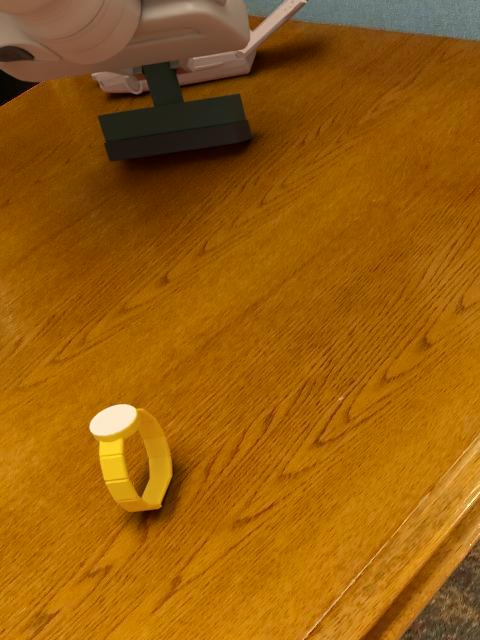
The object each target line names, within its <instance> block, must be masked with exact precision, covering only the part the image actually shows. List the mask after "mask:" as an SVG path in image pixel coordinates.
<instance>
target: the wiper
mask: <svg viewBox="0 0 480 640" xmlns="http://www.w3.org/2000/svg"><path fill="white" fill-rule="evenodd" d="M142 67H143V70H144V74H145V77H146V81H147V84H148V88H149V91H148V92H149V94H150V98H151V101H152V105H153V106H149V107H143V108H142V107H141V108H133V109H129V110H122V111H116V112H115V111H114V112H109V113H104V114H100V115H97V119H98V123H99V126H100V129H101V133H102V136H103V139H104V142H103V145H104V149H105V152H106V155H107V159H108V161H109V162H110V163H112V162H119V161H124V160H125V161H126V160H132V159H138V158H140V159H141V158H146V157H153V156H159V155H166V154H167V155H168V154H173V153H180V152H186V151H192V150H200V149H207V148H213V147H221V146H226V145H233V144H239V143H243V142H245V141H249V140H251V139H253V135H252V131H251V126H250V121H249V119H247V116H246V112H245V108H244V105H243V101H242V100H243V99H242V96H241V94H240V93H232V94H227V95H219V96H213V97H207V98H206V97H205V98H199V99H193V100H187V101H185V100H184V96H183V92H182V89H181V85H179V81H178V78H177V74H176V72H175V71H173V70H172V69H170V63H169V62H162V63H156V64H150V65H143V66H142Z"/></svg>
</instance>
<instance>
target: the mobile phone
mask: <svg viewBox="0 0 480 640" xmlns="http://www.w3.org/2000/svg"><path fill="white" fill-rule="evenodd" d="M308 2H309V0H284V1H283V2H281V4H279V6H277V8H275V10H273V11H272V12H271V13H270V14H269V15H268V16H267V17H266V18H265V19H264V20H263V21H262V22H261V23H260V24H259V25H258V26H256V28H254V30H252V29H250V41H249V43H248V45H247V46H246V47H245V48H244V49H242V50H238V51H231V52H225V53H219V54H213V55H206V56H200V57H194V58H193V60H194V68H195V70H194V72H192V73H184V74H177V73H176V74H177V78H178V81H179V85H180V86H187V85H192V84H199V83H203V82H209V81H214V80H220V79H225V78H231V77H236V76H237V77H238V76H242V75H248V74H249V73H251V69H252V66H253V64H254V61H255V57H256V55H257V49H258V48H259V47H260V46H261V45H262V44H263V43H265V42H266V40H268V39H269V38H270V37H271V36H272V35H273V34H274V33H276V32H277V31H278V30H279V29H280V28H281V27H283V26H284V25H285V24H286V23H287V22H288V21H289V20H290V19H291V18H293V17H294V16H295V15H296V14H297V13H299V11H301V9H303V7H305V6H306V4H307V3H308ZM91 78H92V80H93V81H97V82H98V84H99V87H100V89H101V90H102V92H104V93H110V94H134V95H141V94H142V93H144V92H150V91H149V88H148V84H147V81H146V80H141V81H134V80H133V79H131V78H130V77H128V76H127V75H120V74H115V73H110V72H99V73H93V74H91Z"/></svg>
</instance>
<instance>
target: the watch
mask: <svg viewBox="0 0 480 640" xmlns="http://www.w3.org/2000/svg"><path fill="white" fill-rule="evenodd" d="M89 431H90V433H91V435H92V436H93V438H94V440H95V441H97V442H98V443H99V444H98V457H99V464H100V469H101V473H102V477H103V481H104V483H105V486H106V489H108V491H109V493H110V496H111V497H112V499H113V500H114V501H115V503H116V504H118V505H119V506H120V507H121V508H123V509H124V511H125V512H129V513H134V512H144V511H154V510H159V509H160V508H162V506H163V505H162V502H163V500H164V499H165V495H166V493H167V490H168V488H169V486H170V483H171V480H172V478H173V460H172V456H171V455H172V453H171V450H170V446H169V443H168V439H167V436H166V434H165V431H164V430H163V428H162V426H161V425H160V423H159V421H158V420H157V418H156V417H155V416H154V415H153V414H151V413H150V412H149V411H147V410H145V409H144V408H142V407H139V408H136V407H134V406H133V405H131V404H126V403H124V404H123V403H122V404H115V405H111V406H109V407H107V408H104V409H102V410H101V411H99V412H98V413H97V414H96V415H95V416H94V417H93V418H91V421H90V423H89ZM137 432H138V433H139V435H140V436H141V438H142V441H143V445H144V447H145V451H146V454H147V457H148V472H149V473H148V475H149V478H148V482H147V484H146V486H145V489H144V491H143V493H142V495H141V496H139V494H138V492H137V491H136V488H135V487H134V484H133V483H132V481H131V479H130V476H129V471H128V467H127V461H126V457H125V440H127V439H129V438H130V437H132V436H133V435H134V434H135V433H137Z"/></svg>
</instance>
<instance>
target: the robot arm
mask: <svg viewBox="0 0 480 640" xmlns="http://www.w3.org/2000/svg"><path fill="white" fill-rule="evenodd" d="M248 13H249V12H248V9H247V5H246V3H245V1H244V0H0V70H1V71H2V72H4V73H6V74H7V75H9V76H11V77H13V78H15V79H17V80H18V81H19V80H20V81H23V82H30V83H44V82H49V81H54V80H61V79H67V78H74V77H81V76H85V75H92V74H93V73H99V72H110V73H115V74H120V75H127V76H128V77H130V78H131V79H133V80H134V81H141V80H146V77H145V74H144V70H143V67H142V66H143V65H150V64H156V63H162V62H169V63H170V69H172V70H173V71H175V72H176V73H177V74H184V73H192V72H194V70H195V68H194V60H193V58H194V57H200V56H206V55H213V54H219V53H225V52H231V51H238V50H242V49H244V48H245V47H246V46H247V45H248V43H249V41H250V30H251V28H250V20H249V15H248Z"/></svg>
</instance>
